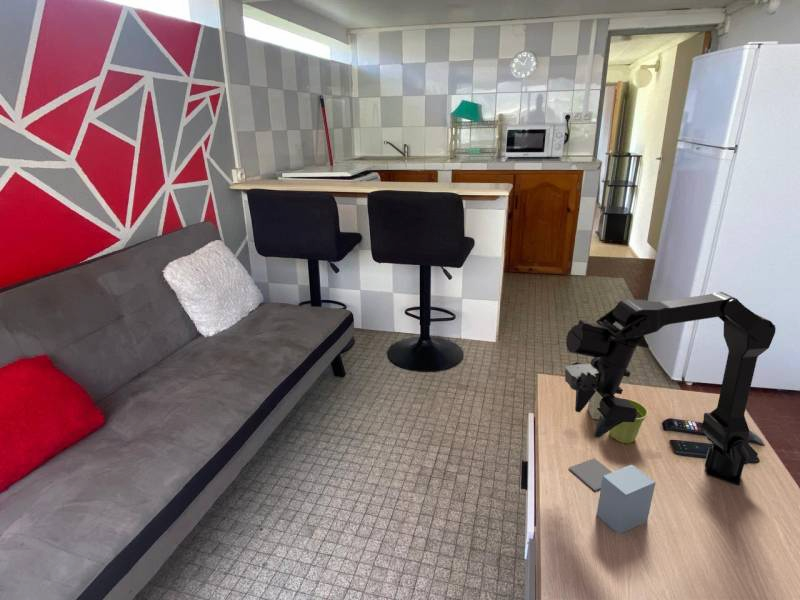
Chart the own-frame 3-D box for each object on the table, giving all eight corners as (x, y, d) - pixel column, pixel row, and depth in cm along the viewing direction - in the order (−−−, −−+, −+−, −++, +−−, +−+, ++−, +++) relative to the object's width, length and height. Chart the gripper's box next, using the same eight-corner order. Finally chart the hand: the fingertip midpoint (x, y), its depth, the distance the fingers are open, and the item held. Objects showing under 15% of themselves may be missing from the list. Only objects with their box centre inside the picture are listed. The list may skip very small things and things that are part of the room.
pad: (594, 459, 112) (594, 458, 112) (621, 480, 105) (621, 479, 105) (568, 468, 109) (568, 467, 109) (594, 491, 102) (594, 490, 102)
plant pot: (636, 427, 124) (641, 399, 121) (647, 449, 115) (653, 420, 112) (599, 424, 126) (603, 396, 123) (607, 446, 117) (612, 416, 114)
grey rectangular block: (624, 502, 99) (631, 464, 96) (647, 521, 94) (655, 482, 91) (596, 514, 96) (602, 475, 93) (618, 534, 91) (626, 494, 88)
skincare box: (608, 421, 127) (614, 381, 123) (591, 419, 128) (597, 380, 124) (603, 408, 133) (609, 370, 129) (587, 406, 134) (592, 368, 130)
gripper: (560, 334, 103) (537, 394, 108) (599, 376, 85) (570, 445, 90) (605, 343, 104) (580, 402, 109) (653, 386, 87) (621, 454, 92)
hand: (586, 423), depth 100 cm, fingers open, 9 cm apart
